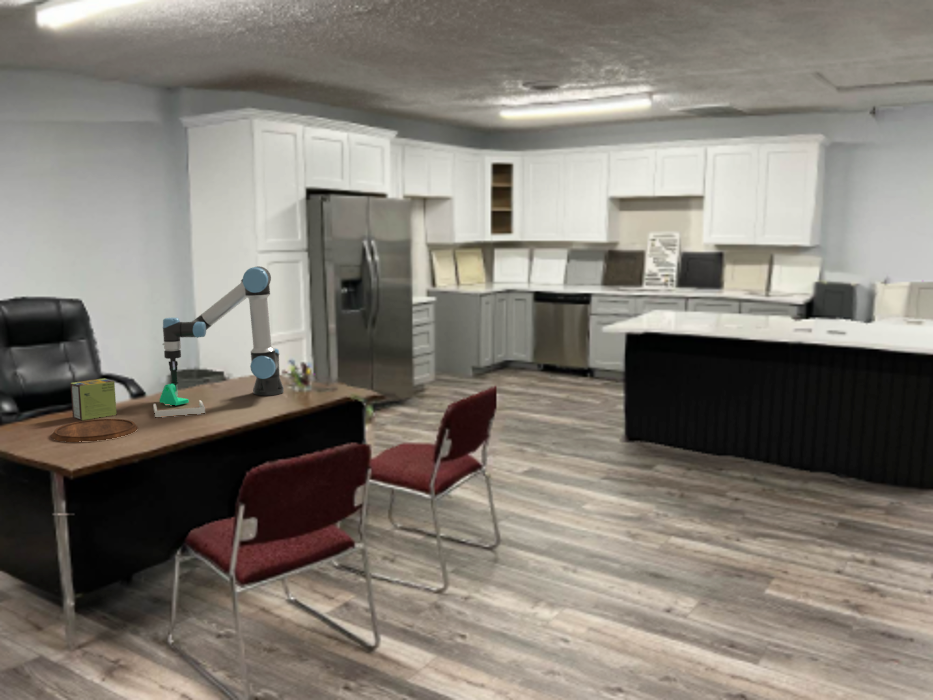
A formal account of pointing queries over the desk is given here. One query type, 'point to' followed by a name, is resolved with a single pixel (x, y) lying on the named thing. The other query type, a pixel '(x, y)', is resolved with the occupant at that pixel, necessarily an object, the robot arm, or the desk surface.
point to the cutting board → (94, 430)
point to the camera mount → (171, 396)
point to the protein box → (93, 399)
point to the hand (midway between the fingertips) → (174, 397)
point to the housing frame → (180, 411)
